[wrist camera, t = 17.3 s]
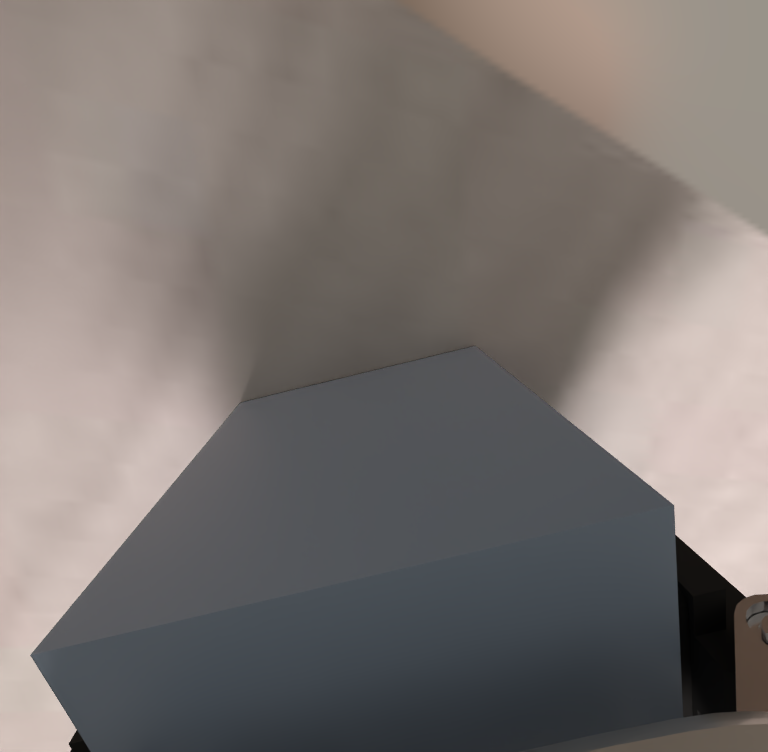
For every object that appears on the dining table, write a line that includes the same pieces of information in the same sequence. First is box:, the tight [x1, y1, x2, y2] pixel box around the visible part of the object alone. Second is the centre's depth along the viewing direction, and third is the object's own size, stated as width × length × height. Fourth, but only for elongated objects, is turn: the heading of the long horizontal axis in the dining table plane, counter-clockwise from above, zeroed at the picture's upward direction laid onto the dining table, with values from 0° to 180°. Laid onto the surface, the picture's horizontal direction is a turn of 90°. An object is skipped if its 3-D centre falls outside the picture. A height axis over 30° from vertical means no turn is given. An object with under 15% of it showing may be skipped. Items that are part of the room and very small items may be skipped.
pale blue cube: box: [31, 346, 683, 752], centre depth 10 cm, size 8×8×9 cm
